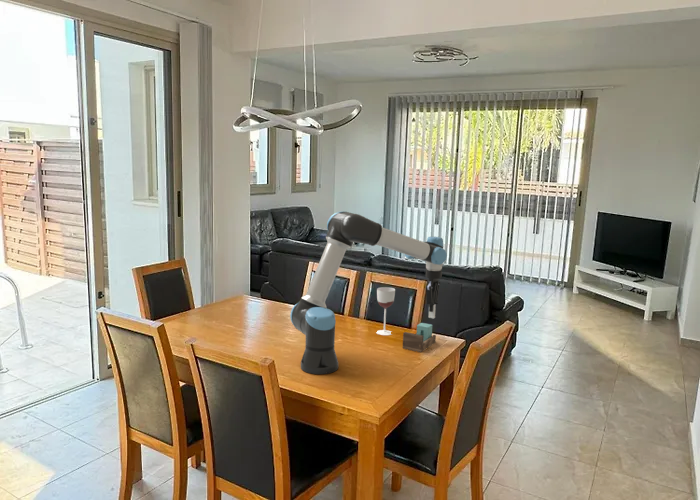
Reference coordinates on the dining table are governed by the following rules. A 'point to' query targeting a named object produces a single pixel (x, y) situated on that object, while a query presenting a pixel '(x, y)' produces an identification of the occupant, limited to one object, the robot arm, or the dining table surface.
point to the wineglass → (385, 304)
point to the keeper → (424, 330)
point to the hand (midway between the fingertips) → (431, 317)
